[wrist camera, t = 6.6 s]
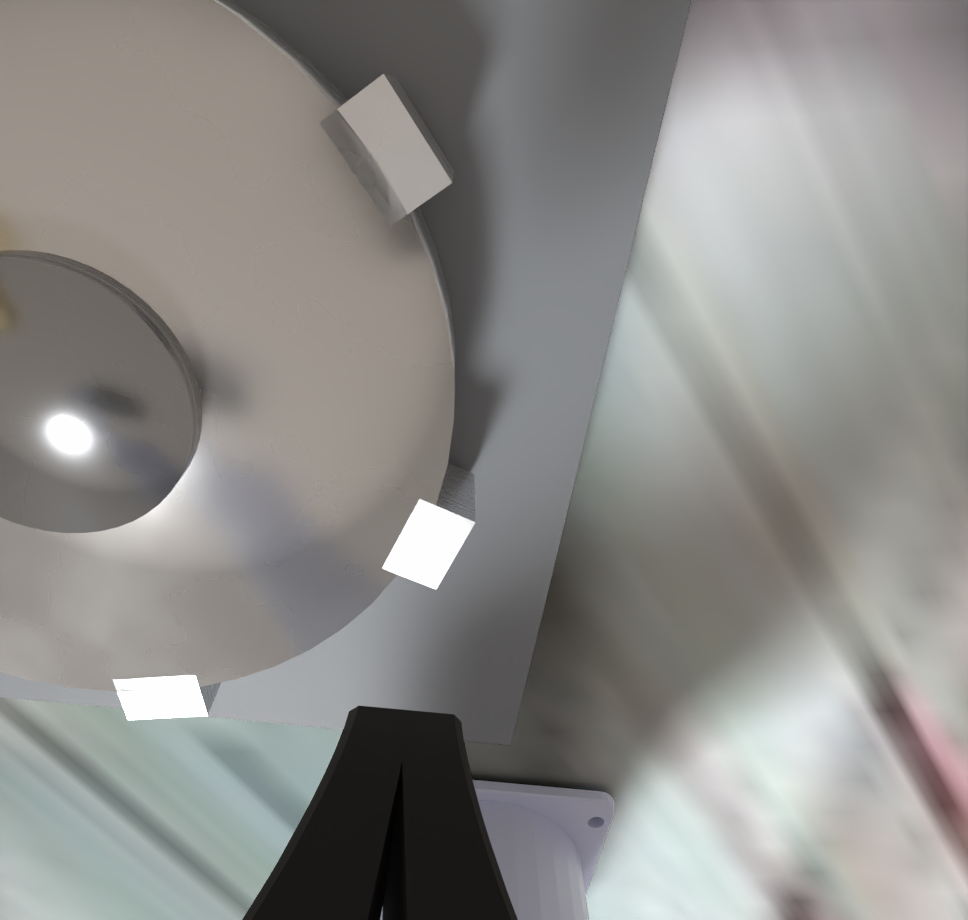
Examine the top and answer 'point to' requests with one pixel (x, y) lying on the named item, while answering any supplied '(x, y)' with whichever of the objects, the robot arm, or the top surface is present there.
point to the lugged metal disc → (210, 350)
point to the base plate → (486, 323)
